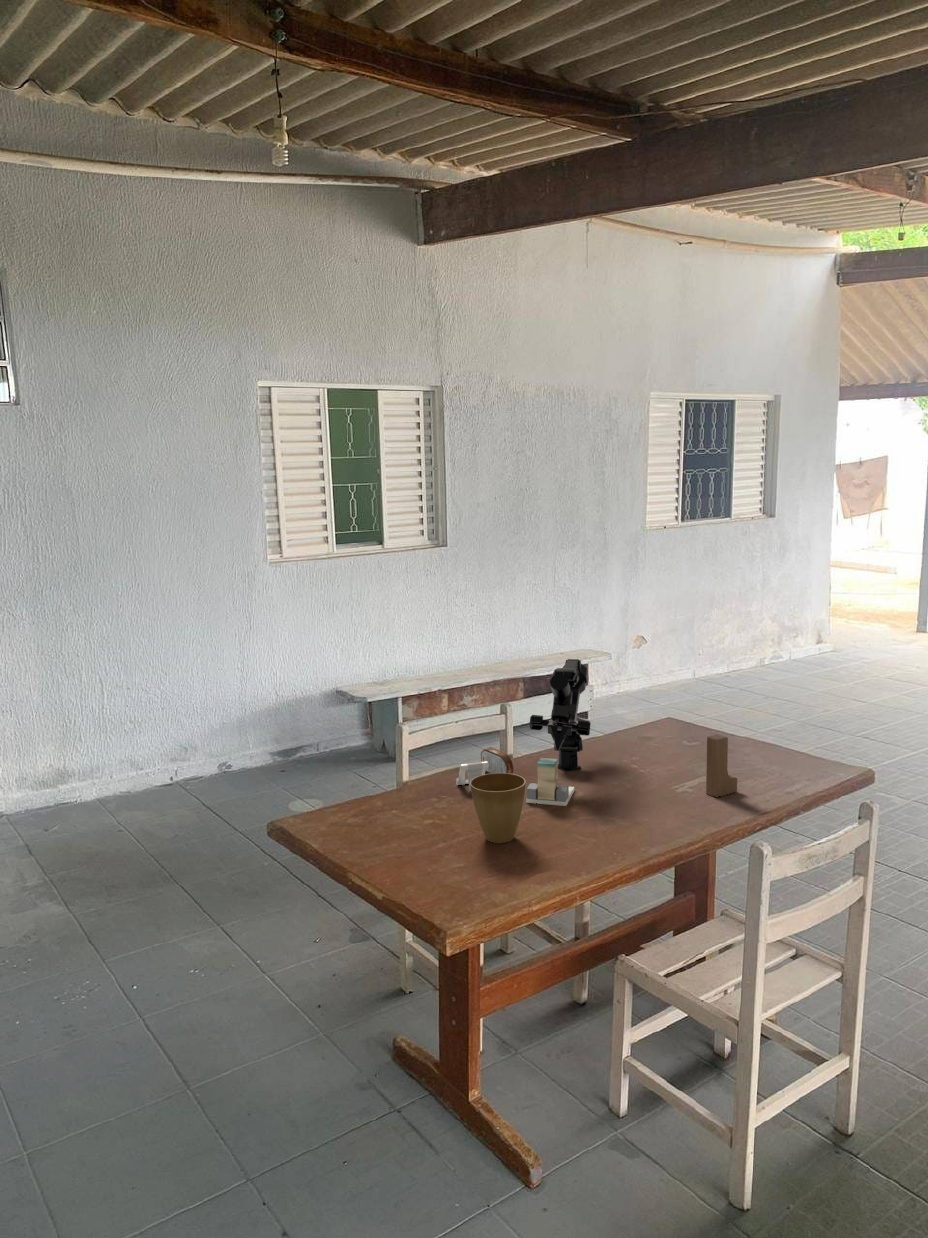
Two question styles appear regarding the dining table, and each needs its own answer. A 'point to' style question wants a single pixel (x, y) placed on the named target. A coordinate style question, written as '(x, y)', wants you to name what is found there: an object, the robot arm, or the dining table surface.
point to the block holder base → (561, 799)
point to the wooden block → (718, 767)
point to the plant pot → (498, 804)
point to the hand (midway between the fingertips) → (557, 750)
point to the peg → (547, 778)
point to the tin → (497, 761)
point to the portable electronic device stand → (471, 772)
